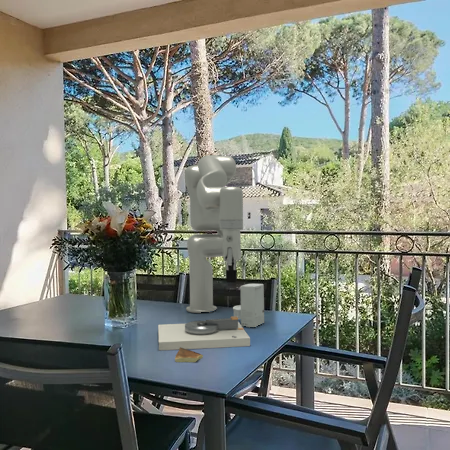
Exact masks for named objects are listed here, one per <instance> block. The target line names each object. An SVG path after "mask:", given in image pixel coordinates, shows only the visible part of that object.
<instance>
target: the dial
mask: <svg viewBox="0 0 450 450" xmlns="http://www.w3.org/2000/svg"><path fill="white" fill-rule="evenodd" d="M238 322H239V320H238V317H237V316H234V315H233V316H230V318H214V319H213V318H212V319H211V318H210V319H205V320H194V321H189V322H187V323H184V324H185V332H187V333H190V334H197V335H204V334H212V333H215V332H217V331H218V330H222V329H238Z"/></svg>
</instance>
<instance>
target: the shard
mask: <svg viewBox="0 0 450 450" xmlns="http://www.w3.org/2000/svg"><path fill="white" fill-rule="evenodd" d="M174 357H175V358H174V362H176V363H196V362H197V361H198V360H201V359H203V357H204V355H203V354H201V353H199V352H196V351H193V350H192V349H184V348H181V347H180V349H179V350H177V353H176V355H175V356H174Z"/></svg>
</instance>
